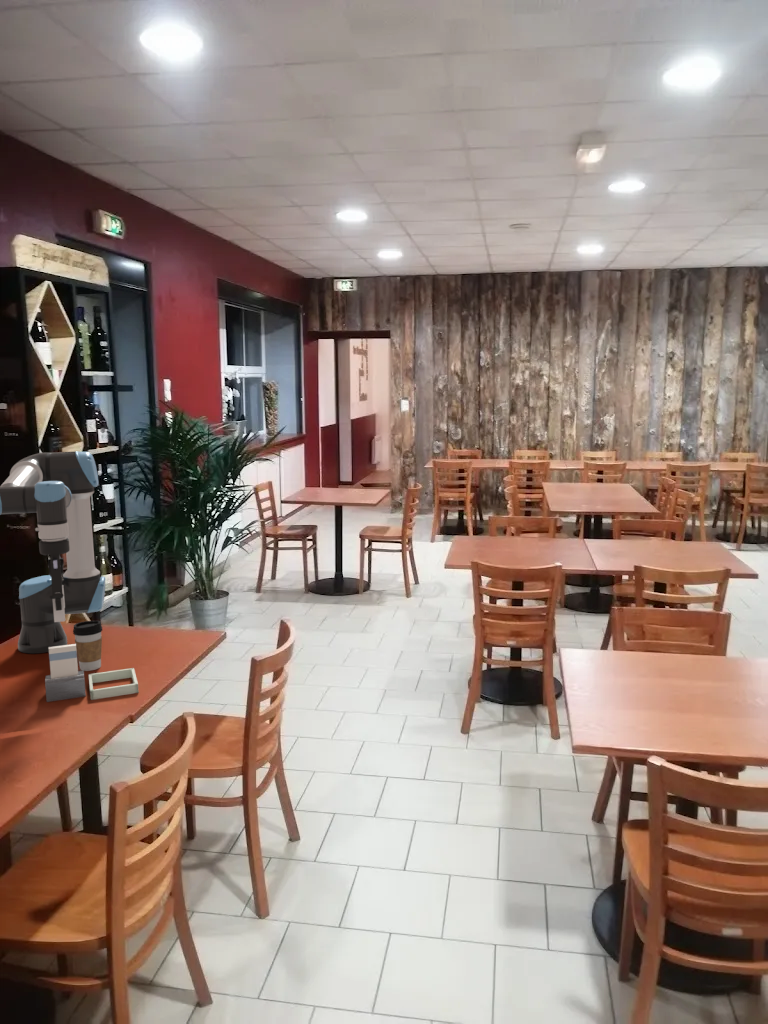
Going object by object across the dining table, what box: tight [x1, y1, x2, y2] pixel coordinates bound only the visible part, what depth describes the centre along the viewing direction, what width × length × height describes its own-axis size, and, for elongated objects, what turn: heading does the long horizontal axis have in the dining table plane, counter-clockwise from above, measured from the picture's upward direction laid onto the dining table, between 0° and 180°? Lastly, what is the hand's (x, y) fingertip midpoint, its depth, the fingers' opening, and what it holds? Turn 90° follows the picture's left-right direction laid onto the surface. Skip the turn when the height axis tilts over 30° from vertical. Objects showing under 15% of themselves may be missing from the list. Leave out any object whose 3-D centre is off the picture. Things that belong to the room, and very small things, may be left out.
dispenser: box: [44, 670, 87, 703], centre depth 218 cm, size 7×10×7 cm
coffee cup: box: [72, 620, 103, 672], centre depth 238 cm, size 8×8×15 cm
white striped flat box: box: [48, 643, 79, 678], centre depth 217 cm, size 2×7×14 cm, turn 112°
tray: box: [88, 667, 140, 701], centre depth 222 cm, size 14×13×4 cm
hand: (59, 614), depth 214 cm, fingers open, 13 cm apart
